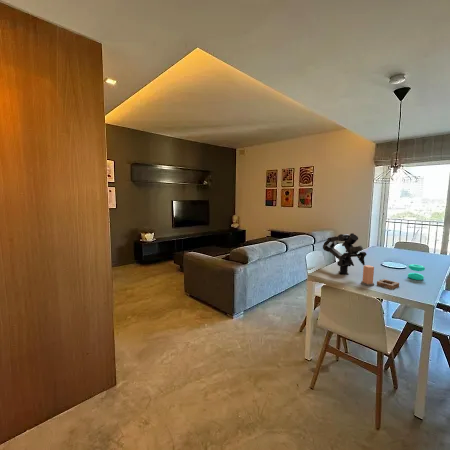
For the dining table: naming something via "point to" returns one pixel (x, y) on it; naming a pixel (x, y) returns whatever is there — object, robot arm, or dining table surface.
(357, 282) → the dining table surface
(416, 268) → the donuts
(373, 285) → the pad
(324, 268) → the dining table surface
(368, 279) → the peg
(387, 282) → the socket plate
